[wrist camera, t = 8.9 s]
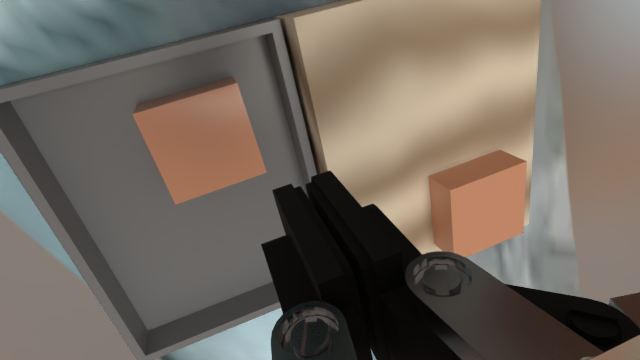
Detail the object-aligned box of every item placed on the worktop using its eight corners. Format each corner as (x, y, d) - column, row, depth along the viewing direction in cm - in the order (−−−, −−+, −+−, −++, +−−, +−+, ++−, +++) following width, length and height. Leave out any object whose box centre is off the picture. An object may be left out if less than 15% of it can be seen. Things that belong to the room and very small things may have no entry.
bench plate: (273, 17, 24) (293, 18, 20) (486, -37, 27) (543, -46, 23) (333, 259, 33) (356, 296, 29) (487, 199, 36) (528, 224, 32)
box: (-8, 87, 21) (-35, 98, 18) (268, 18, 24) (279, 18, 21) (144, 334, 30) (140, 364, 27) (330, 261, 33) (342, 282, 30)
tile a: (237, 82, 22) (232, 76, 24) (132, 114, 21) (136, 104, 23) (266, 172, 25) (260, 159, 27) (175, 204, 24) (176, 188, 26)
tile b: (428, 176, 27) (450, 190, 24) (499, 149, 28) (527, 161, 26) (434, 243, 29) (454, 261, 27) (499, 216, 30) (523, 232, 28)
